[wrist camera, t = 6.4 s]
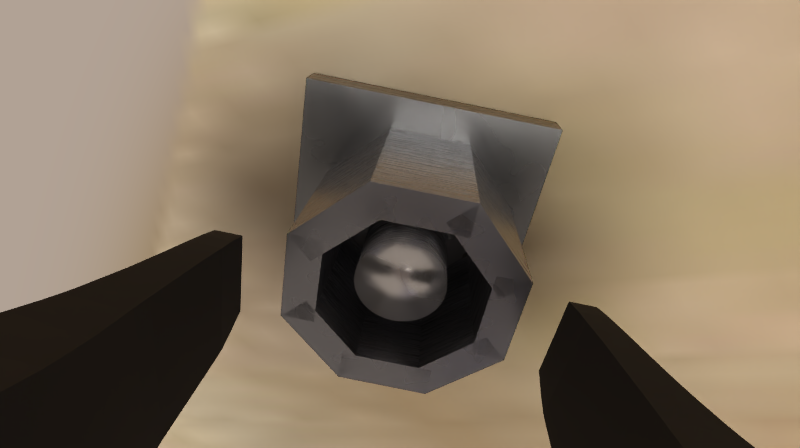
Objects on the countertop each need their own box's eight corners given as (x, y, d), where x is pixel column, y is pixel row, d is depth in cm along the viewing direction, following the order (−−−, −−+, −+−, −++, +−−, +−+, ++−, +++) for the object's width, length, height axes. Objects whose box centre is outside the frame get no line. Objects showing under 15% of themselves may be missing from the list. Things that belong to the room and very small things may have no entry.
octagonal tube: (476, 309, 15) (486, 406, 12) (315, 277, 15) (276, 364, 12) (526, 155, 13) (557, 219, 9) (334, 116, 13) (292, 165, 9)
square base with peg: (490, 315, 16) (504, 414, 13) (295, 276, 16) (249, 363, 12) (556, 122, 13) (602, 176, 9) (314, 73, 13) (260, 107, 9)
